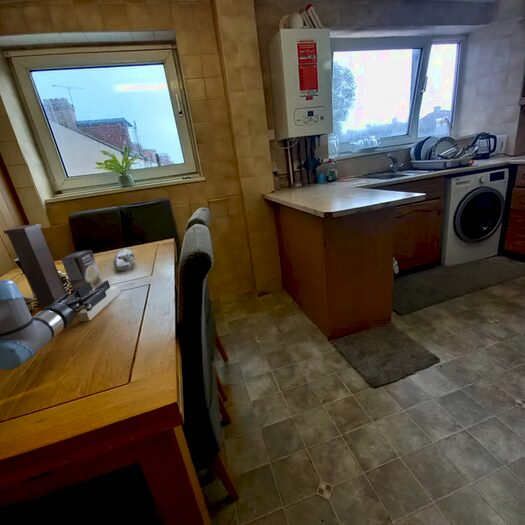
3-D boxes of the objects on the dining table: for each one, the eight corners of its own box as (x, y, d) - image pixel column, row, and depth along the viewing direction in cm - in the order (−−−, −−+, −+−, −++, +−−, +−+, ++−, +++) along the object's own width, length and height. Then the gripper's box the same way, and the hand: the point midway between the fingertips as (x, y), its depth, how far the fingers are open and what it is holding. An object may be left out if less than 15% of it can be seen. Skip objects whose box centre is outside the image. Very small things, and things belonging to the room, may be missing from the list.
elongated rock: (135, 253, 161) (116, 258, 157) (132, 245, 159) (113, 250, 156) (137, 267, 130) (115, 274, 127) (134, 256, 129) (110, 263, 125)
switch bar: (80, 321, 88) (77, 313, 87) (113, 292, 107) (110, 285, 106) (89, 320, 88) (86, 312, 87) (120, 292, 107) (118, 285, 106)
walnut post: (41, 314, 96) (3, 230, 86) (55, 305, 102) (21, 225, 92) (60, 312, 96) (24, 228, 85) (72, 303, 102) (40, 223, 92)
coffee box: (91, 297, 106) (76, 257, 100) (75, 298, 106) (59, 259, 100) (105, 286, 114) (92, 249, 109) (90, 287, 115) (76, 251, 109)
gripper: (24, 336, 77) (77, 297, 99) (89, 329, 76) (128, 291, 98) (12, 312, 74) (69, 277, 96) (79, 305, 73) (122, 272, 95)
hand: (99, 284), depth 97 cm, fingers open, 6 cm apart
